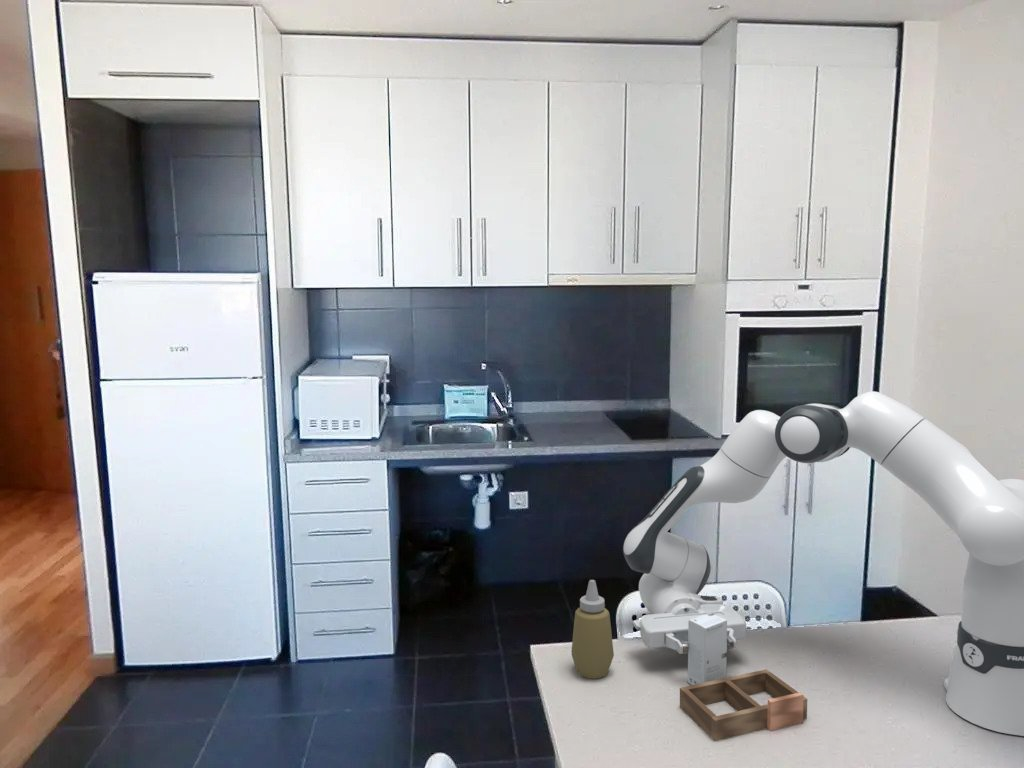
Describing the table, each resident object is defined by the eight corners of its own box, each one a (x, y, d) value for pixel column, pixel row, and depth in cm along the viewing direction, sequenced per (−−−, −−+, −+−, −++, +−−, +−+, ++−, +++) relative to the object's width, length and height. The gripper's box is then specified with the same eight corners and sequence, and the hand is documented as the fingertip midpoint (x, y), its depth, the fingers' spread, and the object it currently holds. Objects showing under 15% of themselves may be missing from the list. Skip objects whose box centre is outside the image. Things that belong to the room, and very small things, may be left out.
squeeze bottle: (568, 680, 137) (567, 587, 135) (574, 659, 144) (574, 571, 142) (611, 684, 135) (611, 591, 133) (616, 663, 143) (615, 574, 140)
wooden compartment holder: (766, 687, 133) (766, 661, 132) (810, 721, 122) (811, 692, 122) (679, 706, 127) (679, 679, 127) (717, 743, 117) (718, 714, 116)
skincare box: (704, 693, 131) (705, 628, 130) (686, 682, 135) (686, 619, 134) (727, 682, 135) (729, 620, 133) (709, 672, 139) (710, 611, 137)
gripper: (630, 604, 146) (654, 636, 132) (727, 596, 149) (760, 626, 135) (630, 634, 146) (654, 669, 133) (726, 625, 150) (759, 658, 136)
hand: (708, 647), depth 134 cm, fingers open, 8 cm apart
